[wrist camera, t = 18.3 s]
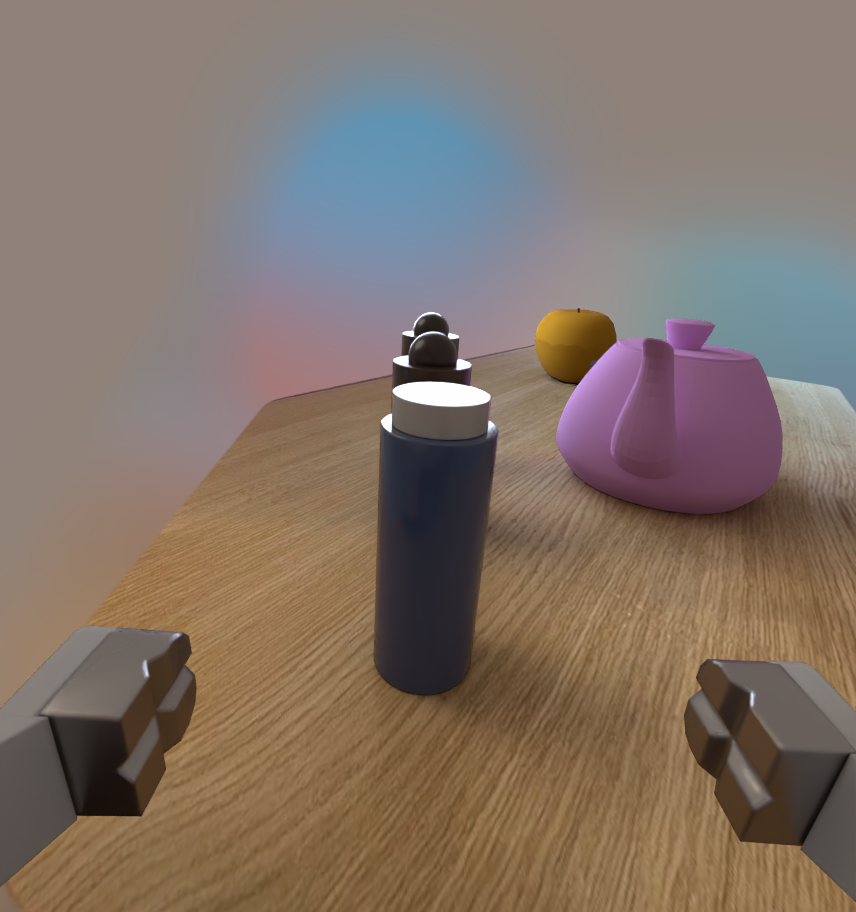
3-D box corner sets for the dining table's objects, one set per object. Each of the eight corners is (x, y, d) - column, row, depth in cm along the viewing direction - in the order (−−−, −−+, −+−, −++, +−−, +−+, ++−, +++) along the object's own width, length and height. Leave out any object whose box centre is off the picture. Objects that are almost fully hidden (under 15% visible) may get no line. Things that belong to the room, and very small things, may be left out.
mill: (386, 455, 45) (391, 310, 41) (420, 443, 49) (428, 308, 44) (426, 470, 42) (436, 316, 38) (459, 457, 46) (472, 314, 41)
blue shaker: (353, 657, 22) (355, 389, 18) (417, 610, 25) (433, 374, 21) (428, 713, 20) (453, 418, 15) (489, 654, 23) (525, 396, 18)
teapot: (590, 426, 58) (614, 304, 53) (768, 465, 49) (815, 323, 44) (497, 498, 38) (520, 315, 33) (765, 585, 30) (851, 354, 25)
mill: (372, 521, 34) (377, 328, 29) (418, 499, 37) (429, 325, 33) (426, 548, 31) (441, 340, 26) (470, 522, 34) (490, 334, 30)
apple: (516, 377, 82) (526, 305, 78) (548, 367, 92) (558, 303, 88) (593, 392, 75) (607, 314, 71) (619, 380, 85) (633, 311, 81)
